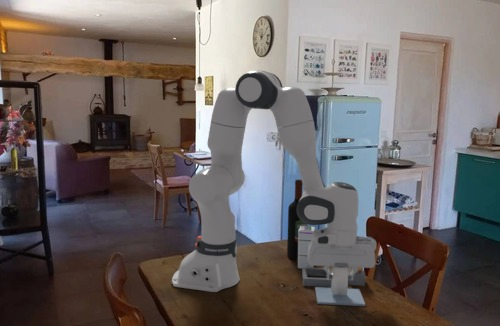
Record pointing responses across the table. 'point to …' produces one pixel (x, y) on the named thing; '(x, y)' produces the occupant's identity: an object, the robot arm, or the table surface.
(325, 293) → the mat
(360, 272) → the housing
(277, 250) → the table surface
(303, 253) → the syrup box
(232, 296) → the table surface
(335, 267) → the white jar
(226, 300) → the table surface
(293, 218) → the wine bottle
